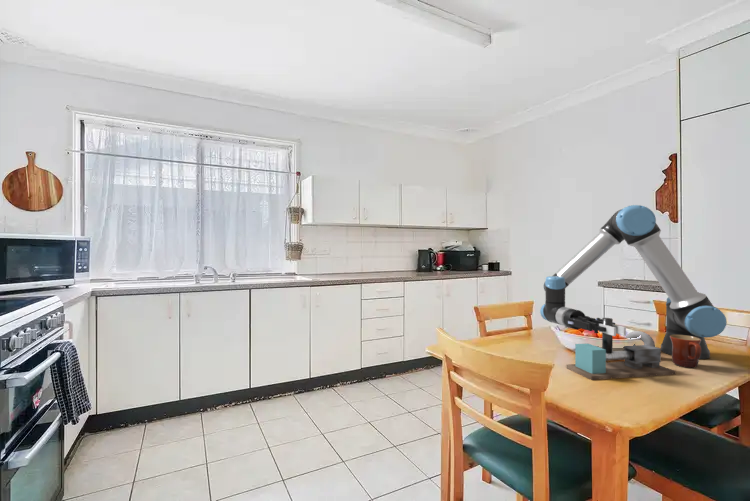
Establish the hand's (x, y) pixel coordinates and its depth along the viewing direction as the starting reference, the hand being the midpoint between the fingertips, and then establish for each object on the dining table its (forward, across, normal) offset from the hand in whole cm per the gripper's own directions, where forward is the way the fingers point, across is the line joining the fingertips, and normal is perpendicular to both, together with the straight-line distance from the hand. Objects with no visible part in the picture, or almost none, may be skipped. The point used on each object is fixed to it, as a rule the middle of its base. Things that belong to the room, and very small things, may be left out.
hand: (619, 331), depth 121 cm
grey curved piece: (-19, -27, -15) cm, 36 cm away
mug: (-5, -33, -15) cm, 37 cm away
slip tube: (-5, -4, -11) cm, 13 cm away
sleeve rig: (-5, -5, -15) cm, 17 cm away
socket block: (-5, +7, -14) cm, 16 cm away
